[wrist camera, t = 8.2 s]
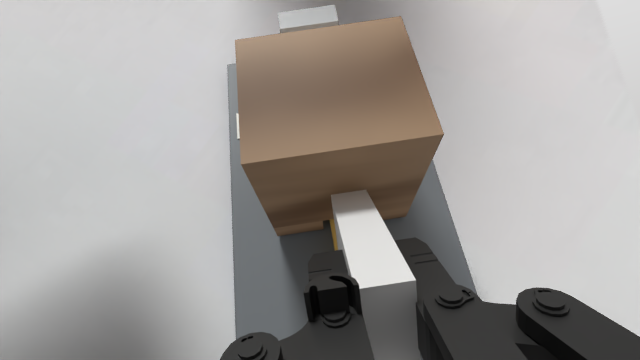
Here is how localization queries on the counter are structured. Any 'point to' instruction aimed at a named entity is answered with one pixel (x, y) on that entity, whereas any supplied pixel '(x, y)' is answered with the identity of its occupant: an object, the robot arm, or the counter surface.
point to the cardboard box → (333, 120)
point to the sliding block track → (297, 249)
